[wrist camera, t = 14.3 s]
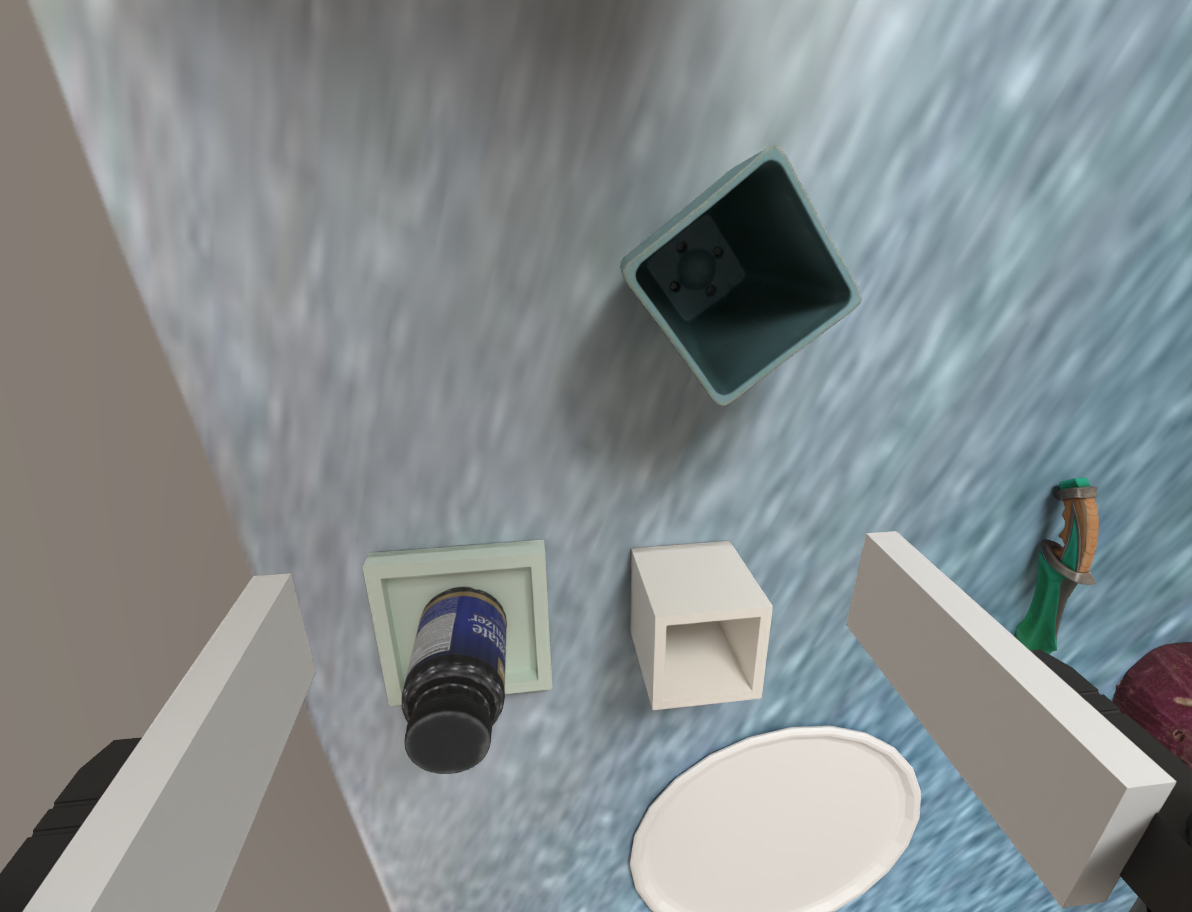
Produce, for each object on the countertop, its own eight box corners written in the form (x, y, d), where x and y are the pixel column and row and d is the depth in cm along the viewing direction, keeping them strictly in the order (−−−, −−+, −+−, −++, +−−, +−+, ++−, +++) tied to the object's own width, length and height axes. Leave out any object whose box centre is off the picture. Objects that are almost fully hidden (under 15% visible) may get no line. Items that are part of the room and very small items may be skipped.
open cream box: (631, 548, 43) (655, 617, 35) (729, 540, 44) (772, 606, 36) (630, 630, 46) (652, 710, 38) (722, 621, 46) (761, 698, 39)
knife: (1049, 469, 45) (1110, 498, 41) (1070, 467, 45) (1133, 495, 41) (991, 683, 53) (1035, 727, 49) (1009, 680, 54) (1055, 724, 49)
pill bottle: (522, 626, 43) (525, 751, 33) (453, 666, 44) (436, 800, 34) (474, 568, 41) (461, 683, 31) (402, 610, 42) (366, 738, 31)
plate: (670, 957, 63) (673, 971, 62) (589, 782, 52) (590, 795, 51) (925, 870, 63) (933, 882, 62) (901, 676, 52) (910, 687, 51)
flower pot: (676, 369, 38) (721, 412, 30) (593, 258, 35) (618, 271, 27) (788, 282, 37) (867, 301, 29) (713, 157, 34) (778, 138, 25)
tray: (368, 552, 40) (362, 567, 39) (543, 539, 42) (545, 552, 40) (393, 688, 45) (389, 706, 43) (550, 672, 46) (552, 689, 44)
